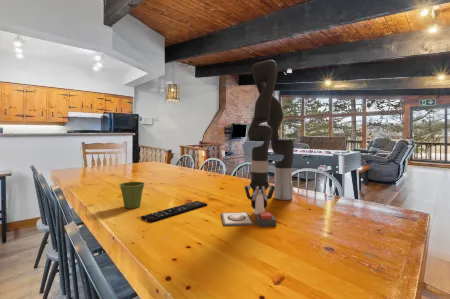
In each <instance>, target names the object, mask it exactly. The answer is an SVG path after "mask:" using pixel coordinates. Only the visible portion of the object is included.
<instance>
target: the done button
mask: <svg viewBox="0 0 450 299" xmlns="http://www.w3.org/2000/svg"><path fill="white" fill-rule="evenodd" d="M271 214H272V213H271V212H269V211H265V212H259V217H260V219H272V215H273V214H272V215H271Z"/></svg>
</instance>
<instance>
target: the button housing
mask: <svg viewBox="0 0 450 299" xmlns="http://www.w3.org/2000/svg"><path fill="white" fill-rule="evenodd" d="M270 214H271V215H272V219H260V217H259V214H254V222H255V223H256V224H257V226H258V227H259V228H260V227H277V219H276V217H275V216H274V215H273V214H272V213H270Z"/></svg>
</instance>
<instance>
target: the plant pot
mask: <svg viewBox="0 0 450 299" xmlns="http://www.w3.org/2000/svg"><path fill="white" fill-rule="evenodd" d="M145 185H146V183H145V182H143V181H128V182H127V181H126V182H122V183H119V184H118V186H119V187H120V191H121V195H122V201H123V202H122V203H123V206H124V208H125V209H138V208H139V207H141V204H142V203H141V202H142V196H143V190H144V188H145Z"/></svg>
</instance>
